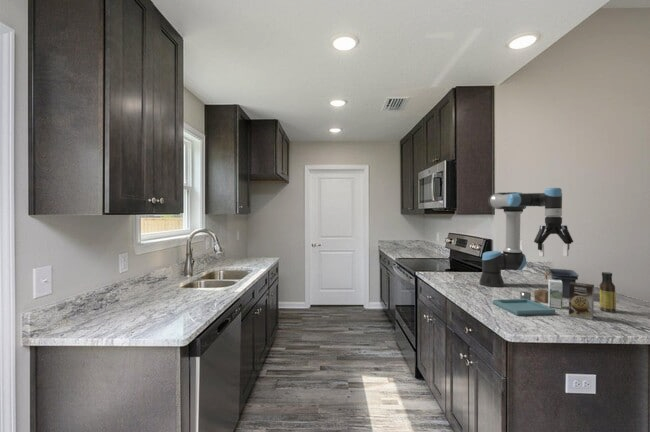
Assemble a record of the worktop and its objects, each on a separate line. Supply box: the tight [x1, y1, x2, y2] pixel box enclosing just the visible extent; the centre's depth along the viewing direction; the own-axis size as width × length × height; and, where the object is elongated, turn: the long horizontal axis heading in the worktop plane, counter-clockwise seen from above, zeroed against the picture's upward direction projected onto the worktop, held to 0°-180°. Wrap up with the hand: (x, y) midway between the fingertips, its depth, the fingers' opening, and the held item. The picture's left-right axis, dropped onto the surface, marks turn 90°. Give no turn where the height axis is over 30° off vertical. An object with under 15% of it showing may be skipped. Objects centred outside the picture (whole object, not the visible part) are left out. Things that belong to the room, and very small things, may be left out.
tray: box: [492, 298, 556, 317], centre depth 168 cm, size 20×20×2 cm
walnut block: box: [534, 289, 548, 304], centre depth 183 cm, size 6×6×6 cm
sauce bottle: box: [598, 271, 617, 313], centre depth 164 cm, size 6×6×20 cm
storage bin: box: [544, 268, 580, 299], centre depth 196 cm, size 21×16×14 cm
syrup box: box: [547, 278, 563, 310], centre depth 172 cm, size 6×6×14 cm
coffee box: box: [568, 281, 595, 321], centre depth 156 cm, size 9×6×16 cm
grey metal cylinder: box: [519, 291, 532, 300], centre depth 183 cm, size 5×5×5 cm
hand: (553, 256), depth 172 cm, fingers open, 13 cm apart
